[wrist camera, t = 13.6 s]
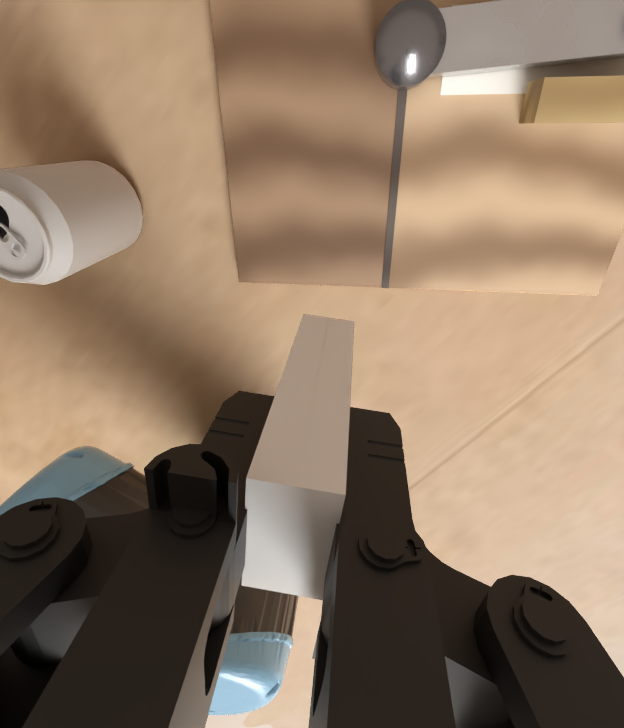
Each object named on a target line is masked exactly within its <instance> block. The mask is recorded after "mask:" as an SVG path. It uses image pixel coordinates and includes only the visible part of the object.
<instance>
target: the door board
mask: <svg viewBox="0 0 624 728" xmlns="http://www.w3.org/2000/svg"><path fill="white" fill-rule="evenodd" d="M401 1H403V0H209V2H210V11H211V21H212V30H213V40H214V49H215V59H216V68H217V78H218V87H219V97H220V106H221V116H222V125H223V135H224V144H225V154H226V164H227V173H228V183H229V192H230V202H231V211H232V221H233V230H234V240H235V249H236V259H237V268H238V278H239V282H252V283H278V284H304V285H330V286H357V287H382V288H409V289H435V290H461V291H488V292H514V293H540V294H566V295H593V296H598V293H599V291H600V288H601V285H602V283H603V280H604V278H605V275H606V272H607V270H608V267H609V264H610V262H611V259H612V256H613V254H614V251H615V249H616V246H617V243H618V241H619V238H620V235H621V233H622V230H623V227H624V58H618V59H609V60H599V61H590V62H581V63H571V64H562V65H552V66H543V67H534V68H524V69H515V70H506V71H496V72H487V73H478V74H468V75H459V76H449V77H440V78H431V79H425V80H424V81H423V82H422V83H421V84H420V85H418V86H417V87H415V88H412V89H409V90H396V89H393V88H391V87H389V86H388V85H387V84H385V83H384V81H383V80H382V79H381V77H380V75H379V73H378V71H377V67H376V61H375V46H376V37H377V33H378V30H379V27H380V24H381V22H382V20H383V19H384V17H385V16H386V14H387V13H388V12H389V10H390V9H391V8H393V7H394V6H395V5H396V4H397V3H399V2H401ZM429 1H431V2H432V3H433V4H434V5H435V6H436V7H437V8H446V7H453V6H461V5H468V4H476V3H483V2H491V1H499V0H429Z"/></svg>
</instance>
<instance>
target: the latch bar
mask: <svg viewBox="0 0 624 728" xmlns="http://www.w3.org/2000/svg"><path fill="white" fill-rule="evenodd" d="M618 58H624V0H499V1H491V2H483V3H476V4H468V5H461V6H453V7H446V8H437V7H436V6H435V5H434V4H433V3H432V2H431V1H429V0H403V1H401V2H399V3H397V4H396V5H395V6H394V7H393V8H391V9H390V10H389V12H388V13H387V14H386V16H385V17H384V19H383V20H382V22H381V24H380V27H379V30H378V33H377V37H376V46H375V61H376V67H377V71H378V73H379V75H380V77H381V79H382V80H383V81H384V83H385V84H387V85H388V86H389V87H391V88H393V89H396V90H409V89H412V88H415V87H417V86H418V85H420V84H421V83H422V82H423V81H424V80H425V79H431V78H440V77H449V76H459V75H468V74H478V73H487V72H496V71H506V70H515V69H524V68H534V67H543V66H552V65H562V64H571V63H581V62H590V61H599V60H609V59H618Z"/></svg>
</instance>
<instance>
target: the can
mask: <svg viewBox="0 0 624 728" xmlns="http://www.w3.org/2000/svg"><path fill="white" fill-rule="evenodd" d="M142 222H143V215H142V209H141V203H140V201H139V199H138V197H137V194H136V192H135V190H134V188H133V187H132V186H131V185H130V183H129V182H128V181H127V179H126V178H125V177H124V176H123V175H122V174H120V173H119V172H118V171H117V170H115V169H114V168H113V167H111V166H109V165H106V164H104V163H102V162H99V161H89V160H82V161H73V162H63V163H54V164H44V165H34V166H25V167H15V168H6V169H0V277H1V278H3V279H6V280H9V281H11V282H18V283H29V284H40V285H46V284H50V283H54V282H57V281H59V280H62V279H64V278H66V277H68V276H70V275H72V274H74V273H76V272H78V271H80V270H82V269H85V268H87V267H89V266H91V265H93V264H95V263H97V262H99V261H101V260H103V259H105V258H108V257H110V256H112V255H114V254H116V253H118V252H120V251H122V250H124V249H126V248H128V247H129V246H131V245H132V244H133V243H134V242H135V241H136V240H137V238H138V236H139V234H140V233H141V230H142Z"/></svg>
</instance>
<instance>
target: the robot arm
mask: <svg viewBox="0 0 624 728" xmlns="http://www.w3.org/2000/svg"><path fill="white" fill-rule="evenodd" d="M353 338H354V321H348V320H341V319H334V318H328V317H321V316H314V315H308V314H303V317H302V320H301V323H300V326H299V329H298V331H297V334H296V337H295V340H294V343H293V346H292V349H291V351H290V354H289V357H288V360H287V363H286V366H285V368H284V371H283V374H282V377H281V380H280V383H279V386H278V388H277V391H276V394H275V397H274V396H268V395H262V394H256V393H249V392H243V391H238V392H237V393H236V394H234V395H233V396H231V397H230V398H229V399H227V400H226V401H225V402H224V403H223V404H222V406H221V408H220V410H219V412H218V414H217V415H216V419H215V420H214V421H213V423H212V425H211V427H210V428H209V432H208V433H207V434H206V436H205V438H204V440H203V441H202V443H201V444H188V445H183V446H179V447H175V448H171V449H169V450H167V451H165V452H163V453H161V454H160V455H158V456H156V457H155V458H154V459H153V460H152V461H151V462H150V463H149V464H148V465H147V466H146V467H145V468H144V472H145V475H143V474H142V473H140V472H138V471H137V470H135V469H134V468H133V467H134V465H132V464H131V463H127V464H126V463H124V462H122V461H120V460H119V459H117V458H115V457H113V456H111V455H109V454H108V453H106V452H104V451H102V450H100V449H98V448H95V447H91V446H83V447H78V448H75V449H72V450H70V451H68V452H66V453H65V454H63V455H61V456H60V457H58V458H57V459H56V460H54V461H53V462H52V463H50V464H49V465H48V466H46V467H45V468H44V469H42V470H41V471H40V472H39V473H37V474H36V475H35V476H34V477H33V478H31V479H30V480H29V481H28V482H27V483H25V484H24V485H23V486H22V487H21V488H20V489H18V490H17V491H16V492H15V493H14V494H13V495H12V496H10V497H9V498H8V499H7V500H6V501H5V502H4V503H3V504H2V505H1V506H0V728H204V727H205V724H206V721H207V717H208V715H233V714H241V713H246V712H250V711H253V710H256V709H259V708H261V707H263V706H265V705H266V704H268V703H269V702H270V701H271V700H272V699H273V698H274V697H275V696H276V694H277V693H278V691H279V690H280V687H281V685H282V681H283V677H284V673H285V669H286V665H287V661H288V656H289V652H290V648H291V647H292V644H293V639H292V633H293V627H294V621H295V614H296V608H297V601H298V596H303V597H308V598H314V599H319V600H323V605H322V616H321V622H320V626H319V631H318V635H317V640H316V644H315V648H314V653H313V657H312V658H313V659H315V666H314V676H313V687H312V697H311V708H310V718H309V728H624V677H623V676H622V674H621V673H620V671H619V670H618V668H617V667H616V665H615V664H614V662H613V661H612V659H611V658H610V657H609V655H608V654H607V652H606V651H605V649H604V648H603V646H602V645H601V643H600V642H599V640H598V639H597V637H596V636H595V634H594V633H593V631H592V630H591V628H590V627H589V625H588V624H587V622H586V621H585V620H584V619H583V617H582V616H581V615H580V614H579V613H578V611H577V610H576V609H575V608H574V607H573V606H572V604H571V603H570V602H569V601H568V600H566V599H565V598H564V597H563V596H561V595H560V594H559V593H557V592H556V591H555V590H553V589H552V588H551V587H549V586H547V585H545V584H543V583H541V582H539V581H536V580H534V579H532V578H530V577H523V576H516V575H510V576H507V577H503V578H500V579H497V580H496V582H495V583H494V584H493V585H492V587H490V586H488V585H486V584H484V583H482V582H479V581H477V580H475V579H473V578H471V577H469V576H467V575H465V574H463V573H461V572H459V571H456V570H454V569H453V568H451V567H449V566H448V565H446V564H444V563H443V562H441V561H440V560H439V559H438V558H436V557H435V556H434V555H433V554H432V553H430V551H429V550H428V549H427V548H426V547H425V544H424V541H423V540H422V539H421V537H420V536H419V535H418V534H417V532H416V531H415V528H414V524H413V520H412V513H411V506H410V498H409V491H408V483H407V475H406V468H405V463H404V452H403V449H402V446H403V445H402V437H401V430H400V428H399V426H398V425H397V423H396V422H395V420H394V419H393V418H392V416H391V415H390V413H385V412H378V411H372V410H366V409H359V408H353V407H350V398H351V378H352V358H353Z"/></svg>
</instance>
